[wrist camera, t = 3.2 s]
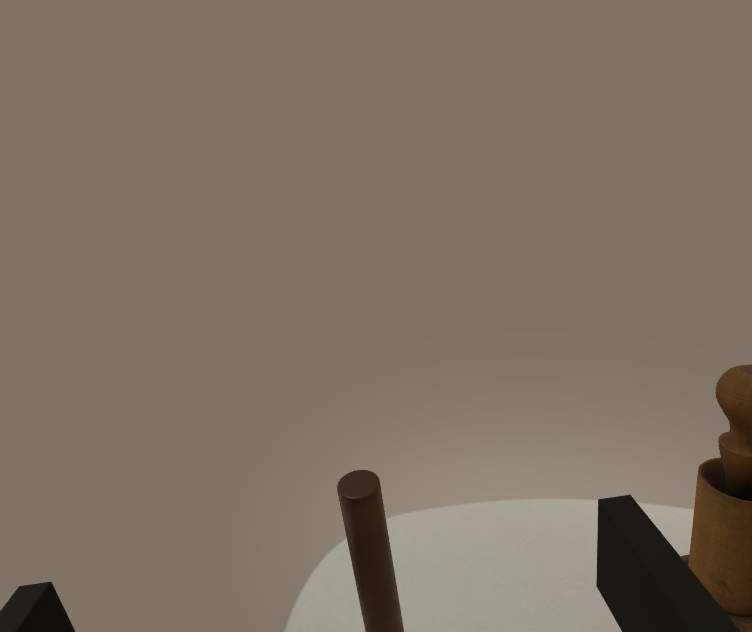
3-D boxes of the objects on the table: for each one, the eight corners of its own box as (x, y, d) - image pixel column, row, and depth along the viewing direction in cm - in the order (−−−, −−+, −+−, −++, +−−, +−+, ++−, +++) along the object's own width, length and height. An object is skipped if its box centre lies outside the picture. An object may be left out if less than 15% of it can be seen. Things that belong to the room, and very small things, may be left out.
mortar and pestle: (747, 578, 33) (785, 340, 27) (814, 675, 27) (881, 398, 21) (644, 577, 34) (659, 348, 28) (686, 670, 28) (717, 406, 22)
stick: (363, 775, 26) (304, 527, 20) (361, 685, 30) (312, 460, 25) (447, 762, 26) (413, 511, 20) (433, 674, 30) (402, 447, 25)
